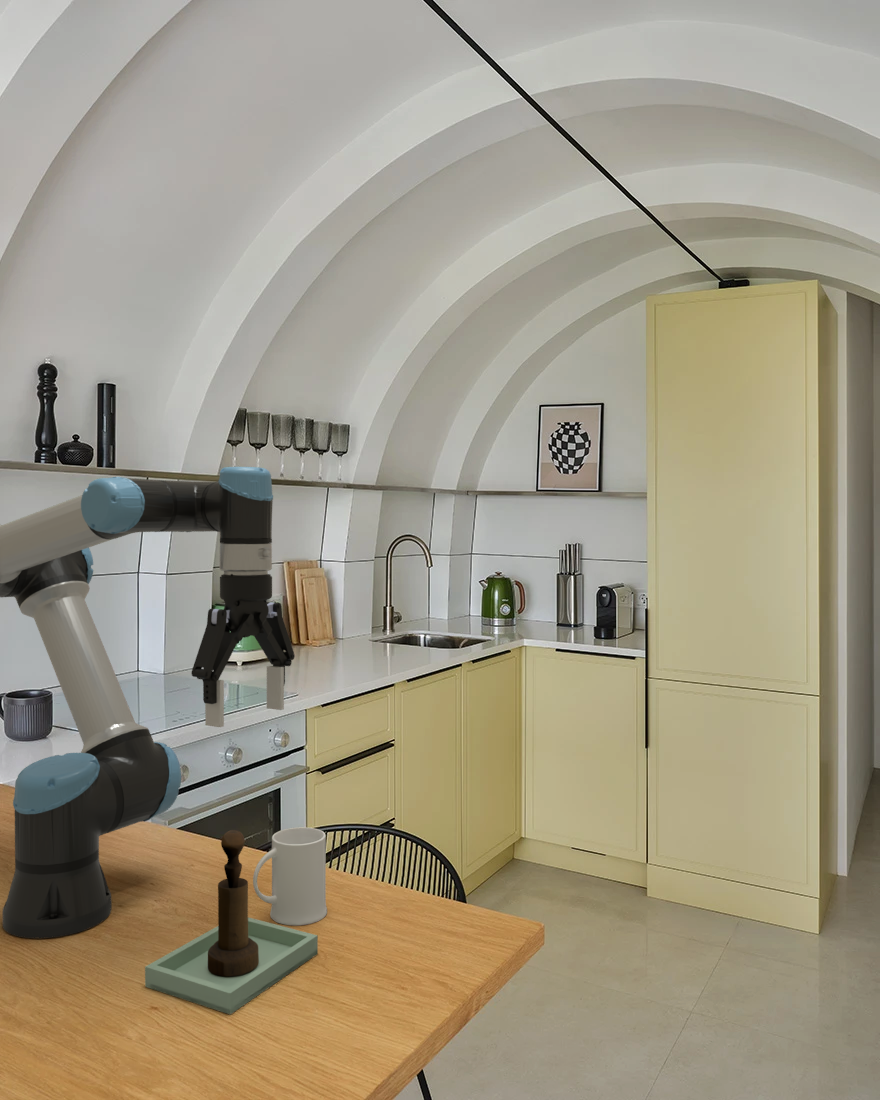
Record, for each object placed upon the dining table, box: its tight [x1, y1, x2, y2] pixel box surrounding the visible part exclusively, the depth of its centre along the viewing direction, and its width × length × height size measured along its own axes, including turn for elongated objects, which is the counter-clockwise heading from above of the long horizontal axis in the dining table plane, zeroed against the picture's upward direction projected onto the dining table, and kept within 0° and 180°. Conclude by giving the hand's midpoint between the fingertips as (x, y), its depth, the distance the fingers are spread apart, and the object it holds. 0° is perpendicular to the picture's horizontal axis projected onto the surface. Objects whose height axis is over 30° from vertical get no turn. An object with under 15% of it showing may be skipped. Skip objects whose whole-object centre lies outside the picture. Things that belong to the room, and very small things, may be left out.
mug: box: [252, 826, 328, 927], centre depth 141 cm, size 12×8×12 cm
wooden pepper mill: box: [208, 829, 259, 977], centre depth 124 cm, size 7×6×18 cm
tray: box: [144, 916, 319, 1015], centre depth 124 cm, size 14×18×3 cm
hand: (246, 717), depth 138 cm, fingers open, 13 cm apart
